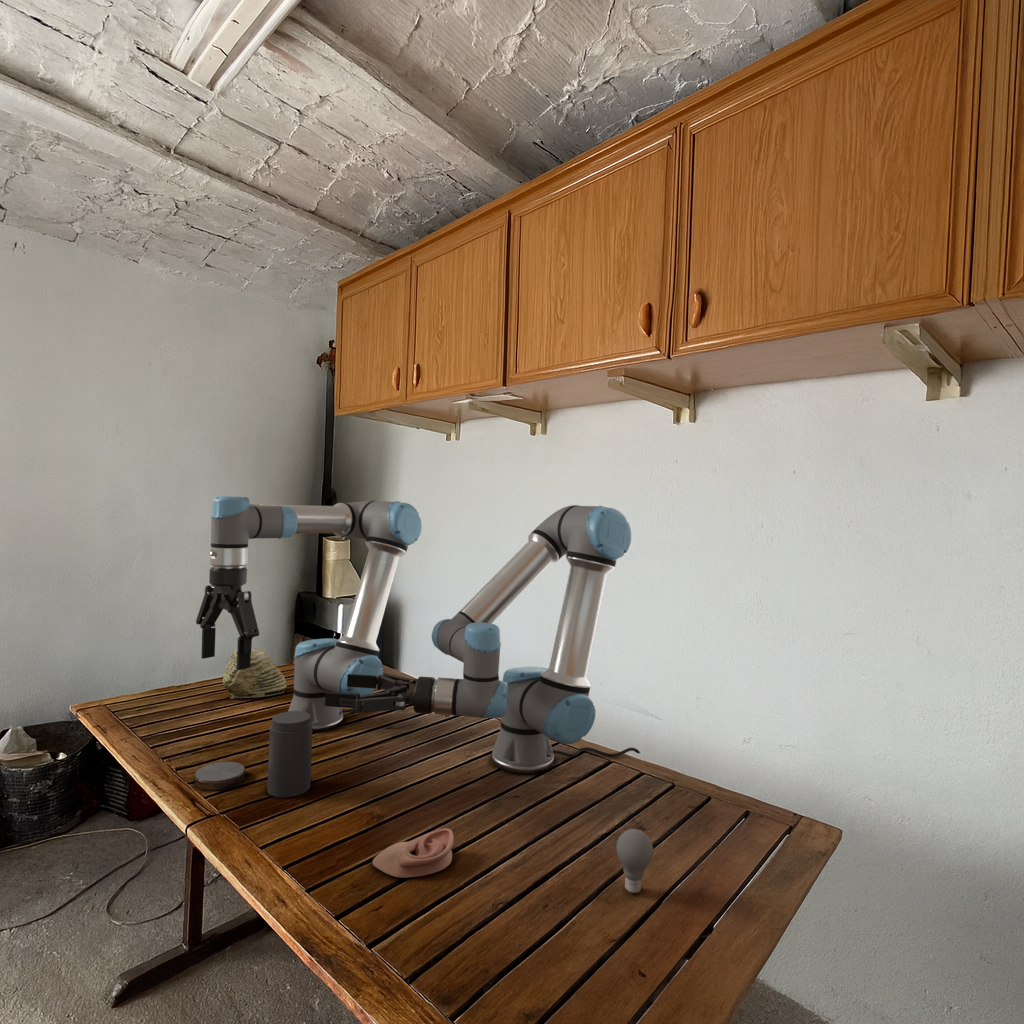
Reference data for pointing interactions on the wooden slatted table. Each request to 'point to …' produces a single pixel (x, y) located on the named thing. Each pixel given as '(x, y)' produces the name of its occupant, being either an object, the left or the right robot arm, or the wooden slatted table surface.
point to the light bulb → (634, 857)
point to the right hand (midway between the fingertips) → (337, 689)
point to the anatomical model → (417, 855)
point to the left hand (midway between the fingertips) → (225, 663)
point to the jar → (290, 754)
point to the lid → (219, 775)
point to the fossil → (253, 677)
